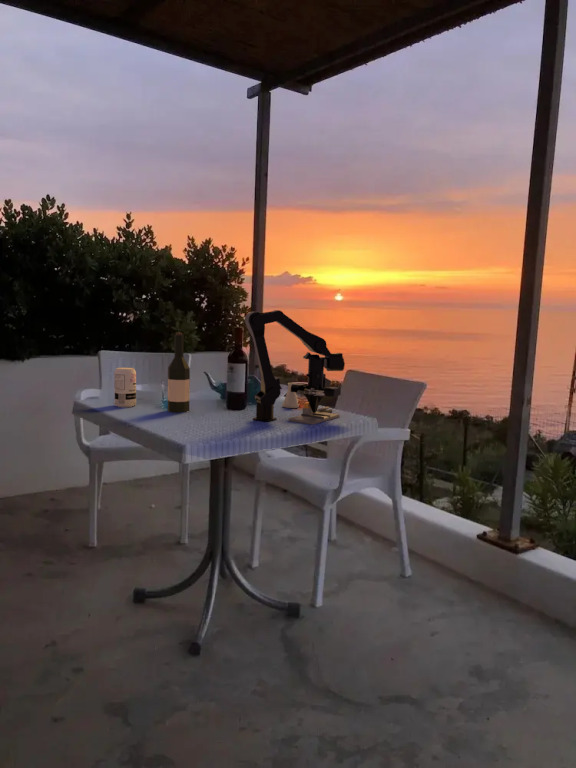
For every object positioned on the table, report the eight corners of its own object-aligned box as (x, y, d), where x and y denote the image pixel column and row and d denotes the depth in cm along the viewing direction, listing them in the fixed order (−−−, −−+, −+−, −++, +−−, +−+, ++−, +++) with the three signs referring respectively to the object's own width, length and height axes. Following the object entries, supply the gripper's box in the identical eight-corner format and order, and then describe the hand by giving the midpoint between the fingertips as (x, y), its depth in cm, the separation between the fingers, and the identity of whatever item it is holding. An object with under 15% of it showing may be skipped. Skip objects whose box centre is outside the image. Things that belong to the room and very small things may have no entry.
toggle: (308, 415, 221) (308, 403, 221) (302, 414, 223) (302, 402, 222) (312, 414, 224) (313, 402, 223) (306, 413, 225) (307, 401, 225)
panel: (312, 424, 210) (312, 420, 210) (288, 421, 215) (289, 416, 215) (339, 416, 227) (339, 412, 226) (316, 413, 232) (317, 409, 232)
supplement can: (114, 404, 239) (114, 367, 237) (135, 404, 241) (135, 367, 239) (114, 407, 231) (114, 369, 229) (136, 407, 234) (136, 369, 232)
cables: (321, 415, 229) (321, 409, 229) (312, 413, 231) (312, 408, 231) (332, 412, 237) (333, 406, 237) (324, 410, 239) (324, 405, 239)
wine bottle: (187, 413, 224) (188, 333, 221) (165, 412, 225) (165, 333, 221) (191, 409, 233) (192, 332, 229) (170, 408, 233) (170, 332, 229)
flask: (292, 409, 241) (293, 384, 239) (278, 407, 245) (279, 383, 244) (303, 407, 246) (303, 383, 245) (289, 405, 251) (289, 381, 249)
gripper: (348, 371, 221) (346, 412, 223) (305, 367, 231) (304, 407, 233) (334, 373, 212) (332, 417, 214) (290, 369, 222) (289, 410, 224)
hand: (314, 412), depth 221 cm, fingers closed
